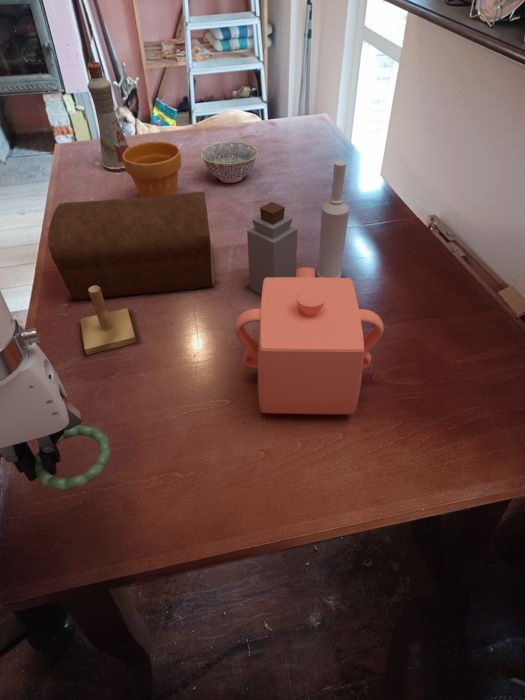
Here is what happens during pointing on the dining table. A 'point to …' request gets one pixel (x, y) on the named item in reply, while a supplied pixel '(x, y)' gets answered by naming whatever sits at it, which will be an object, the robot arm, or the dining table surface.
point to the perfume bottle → (271, 246)
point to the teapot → (309, 344)
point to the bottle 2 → (333, 227)
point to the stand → (105, 326)
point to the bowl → (229, 160)
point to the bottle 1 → (107, 119)
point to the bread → (133, 245)
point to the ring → (86, 476)
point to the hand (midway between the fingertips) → (42, 466)
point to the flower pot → (153, 168)
